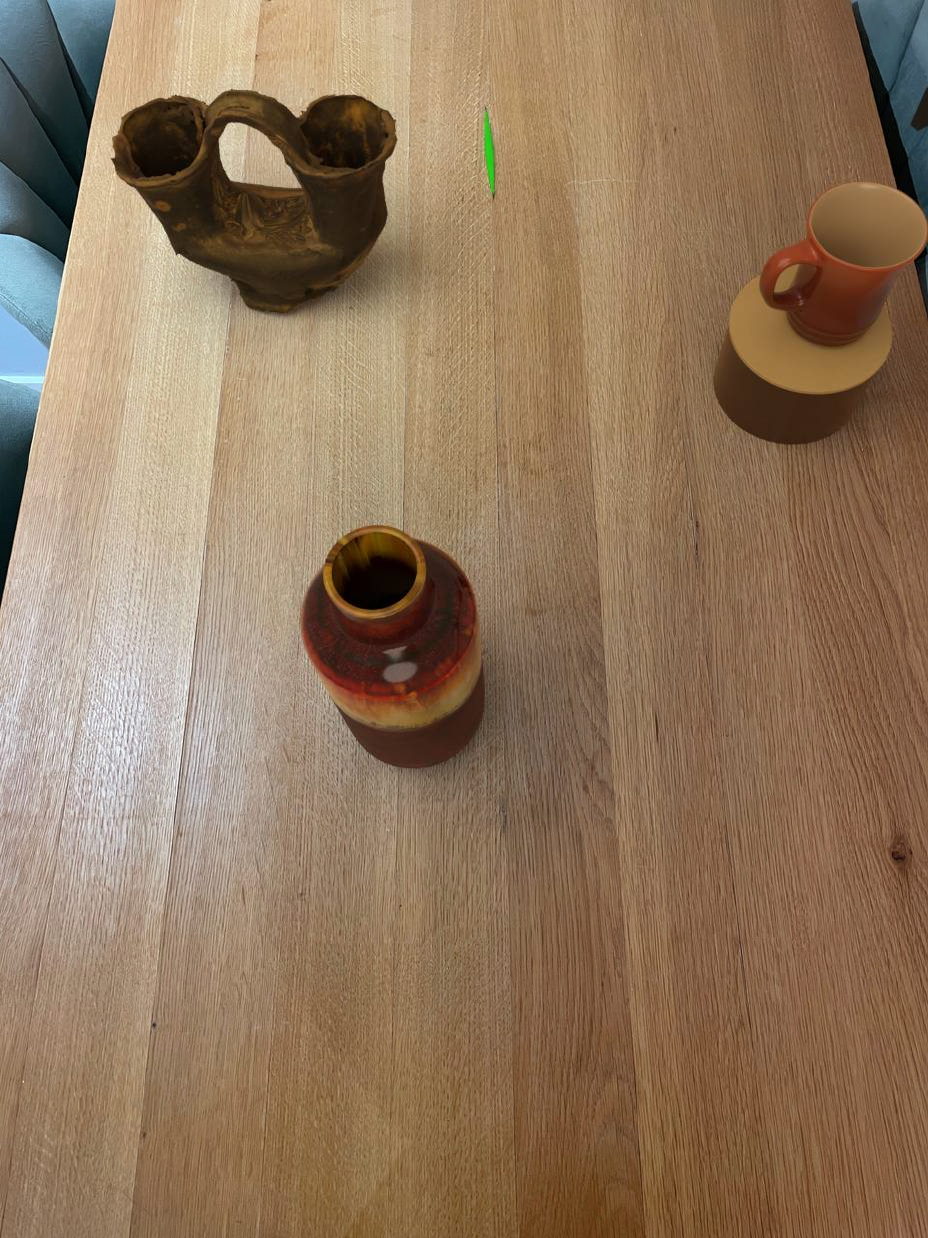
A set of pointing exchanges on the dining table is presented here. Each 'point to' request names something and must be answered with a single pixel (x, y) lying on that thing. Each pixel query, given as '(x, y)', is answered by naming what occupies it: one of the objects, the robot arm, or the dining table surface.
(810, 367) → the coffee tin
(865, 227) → the mug
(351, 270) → the pottery vessel
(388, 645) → the vase
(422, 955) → the dining table surface
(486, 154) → the leaf
